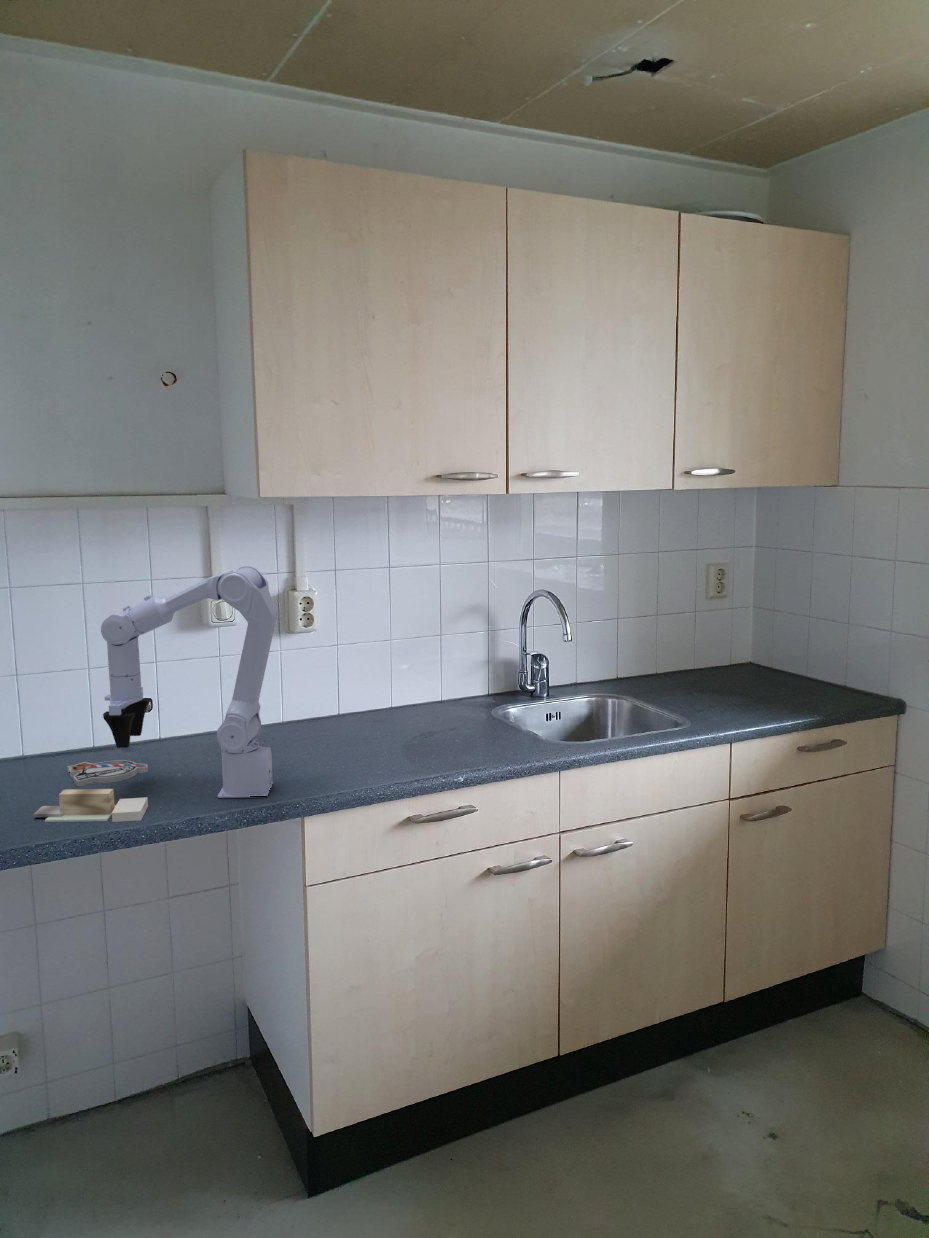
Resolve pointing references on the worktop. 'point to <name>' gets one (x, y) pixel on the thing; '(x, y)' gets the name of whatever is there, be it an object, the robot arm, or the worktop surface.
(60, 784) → the worktop surface
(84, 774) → the emblem
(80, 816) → the pad
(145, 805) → the tile
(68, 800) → the wooden handled scraper
